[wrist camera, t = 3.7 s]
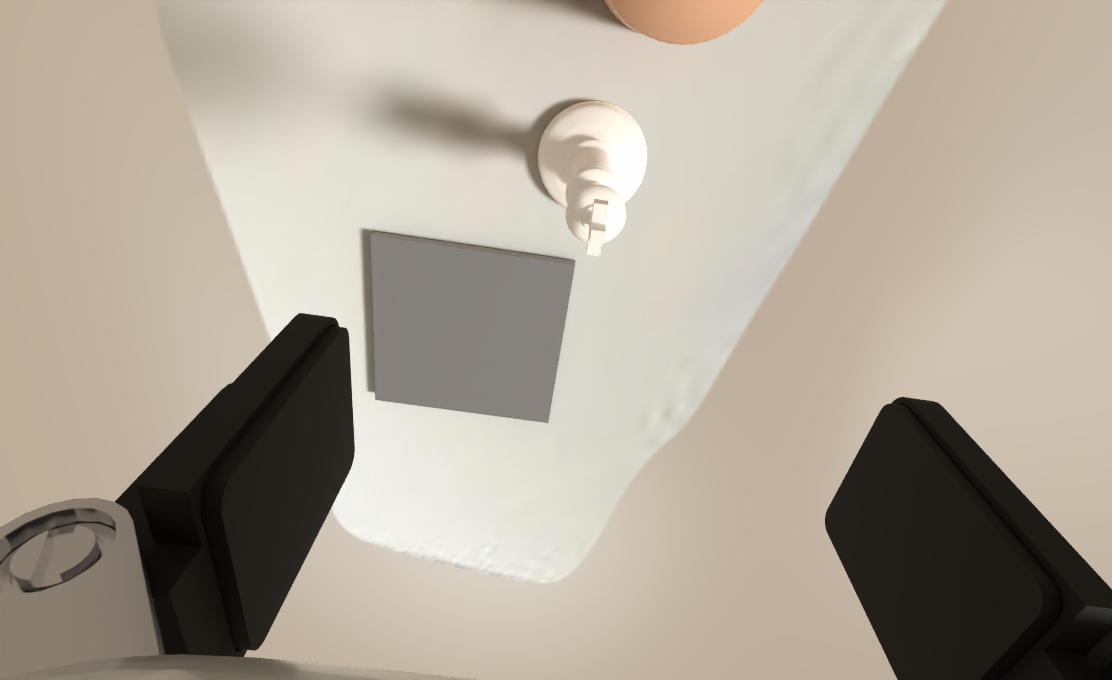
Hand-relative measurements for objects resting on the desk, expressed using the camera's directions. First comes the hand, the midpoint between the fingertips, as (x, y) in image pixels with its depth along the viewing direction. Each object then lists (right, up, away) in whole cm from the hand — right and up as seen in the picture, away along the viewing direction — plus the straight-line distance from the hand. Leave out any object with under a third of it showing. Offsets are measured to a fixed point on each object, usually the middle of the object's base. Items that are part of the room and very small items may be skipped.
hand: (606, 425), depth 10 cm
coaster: (-6, +2, +21) cm, 21 cm away
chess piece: (+1, +10, +16) cm, 19 cm away
